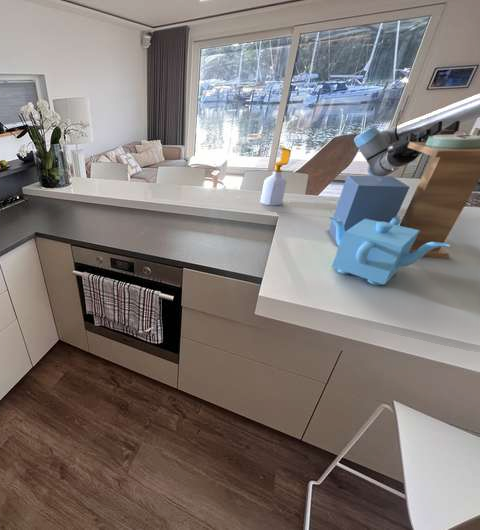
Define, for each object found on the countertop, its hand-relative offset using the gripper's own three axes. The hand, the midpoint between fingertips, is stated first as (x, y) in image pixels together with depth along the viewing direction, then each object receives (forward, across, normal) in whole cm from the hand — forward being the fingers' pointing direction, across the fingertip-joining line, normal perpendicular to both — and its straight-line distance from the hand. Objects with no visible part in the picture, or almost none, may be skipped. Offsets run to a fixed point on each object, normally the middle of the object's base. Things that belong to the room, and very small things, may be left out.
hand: (448, 126), depth 81 cm
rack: (-11, 0, -33) cm, 35 cm away
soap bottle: (-43, +37, -15) cm, 59 cm away
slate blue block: (-12, +14, -33) cm, 38 cm away
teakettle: (+7, +16, -44) cm, 47 cm away
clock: (-1, 0, -4) cm, 4 cm away
